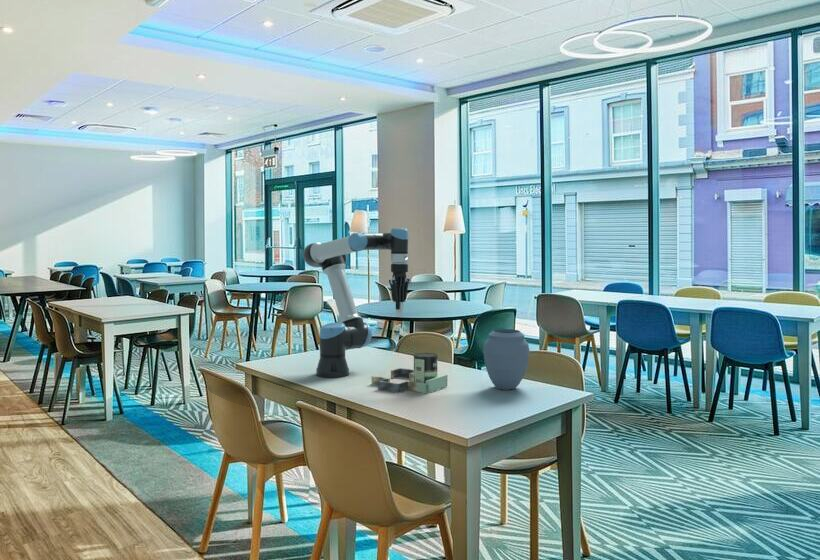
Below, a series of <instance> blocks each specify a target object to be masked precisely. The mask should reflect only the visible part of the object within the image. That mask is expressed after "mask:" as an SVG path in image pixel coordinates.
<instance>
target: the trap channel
mask: <svg viewBox="0 0 820 560" xmlns="http://www.w3.org/2000/svg"><path fill="white" fill-rule="evenodd" d="M398 376H405V377H409V380H405V381H403V382H400V383H397V382H391V379H392V380H393V379H396V378H395V377H398ZM371 385H374V386H377V388H378V390H379V391H386V392H390V393H397V394H399V393H403V392H406V391H413V392H418V382H414V369H411V368H402V367H399V368H395V369H392V370H390V377H384V376H378V375H372V376H371Z"/></svg>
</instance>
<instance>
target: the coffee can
mask: <svg viewBox="0 0 820 560" xmlns="http://www.w3.org/2000/svg"><path fill="white" fill-rule="evenodd" d="M412 357H413V370H414V382H418V383H425V384H426V380H430V379H433V378H436V377H438V357H439V354H437V353H433V352H418V353H414V354H412Z"/></svg>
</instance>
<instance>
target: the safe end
mask: <svg viewBox="0 0 820 560" xmlns="http://www.w3.org/2000/svg"><path fill="white" fill-rule="evenodd" d="M446 387H448V374H442V375H439V376H437V377H436V378H433V379H430V380H426V384H425V383H418V392H419V393H424V394H425V393H426V394H430V393H432V392H436V391H438V390H441V389H444V388H446Z"/></svg>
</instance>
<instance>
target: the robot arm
mask: <svg viewBox="0 0 820 560" xmlns="http://www.w3.org/2000/svg"><path fill="white" fill-rule="evenodd" d="M368 250H369V251H372V250H375V251H377V250H380V251H382V250H385V251H386V250H390V263H391V264H390V272H391V273H392V277H391V279H389V280H388V283H389V285H390V292H391V299H392V301H393V303H395V317H396V318H397V317H398V318H403V317H404V314H403V313H404V303H405V302H406V300H407V296H408V289H409V283H410V282H411V281H410V280H411V279H410V278H408V277H407V273H408V272H409V264H408V262H409V231H408V229H407V228H400V227H399V228H398V227H397V228H391V229H390V232H353V233H351V234H350V235H349V236H344V237H341V238H337V239H333V240H330V241H329V240H328V241H327V242H313V243H309V244H308V245H306V246H305V248H304V249H303V252H302V258H303V260H304V263H306V265H308V266H310V267H311V268H313V267H314V268H321V271H322V273H323V274H324V275H326V277H327V279H328V282H329V285H330V288H331V293H332V296H333V299H334V301H335V302H334V303H335V305H336V309H337V311H338V315H339V319H340V321H339V322H330V323H326V324H324V325H321V327H320V330H319V360H318V363H317V367H316V373H315V374H316V376H317V377H321V378H342V377H346V376H349V375H350V367H349V365H348V363H347V362H348V361H347V359H346V351H348V350H354V349H361V348H364V347H367V346H368V345H369V344H370V343H371V340H372V336H373V335H372V334H373V332H372V327H371V326H370V325H369V324H368V323H367V322H364V319H363V317H362V316H361V315H359V314H358V311H357V310H358V309H357V307H356V305H355V301H354V298H353V295H352V291H351V289H350V285H349V282H348V279H347V275H346V273H345V269H346V266H347V263H348V257H349V256H348V255H349V254H352V253H356V252H357V253H358V252H361V251H368Z"/></svg>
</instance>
